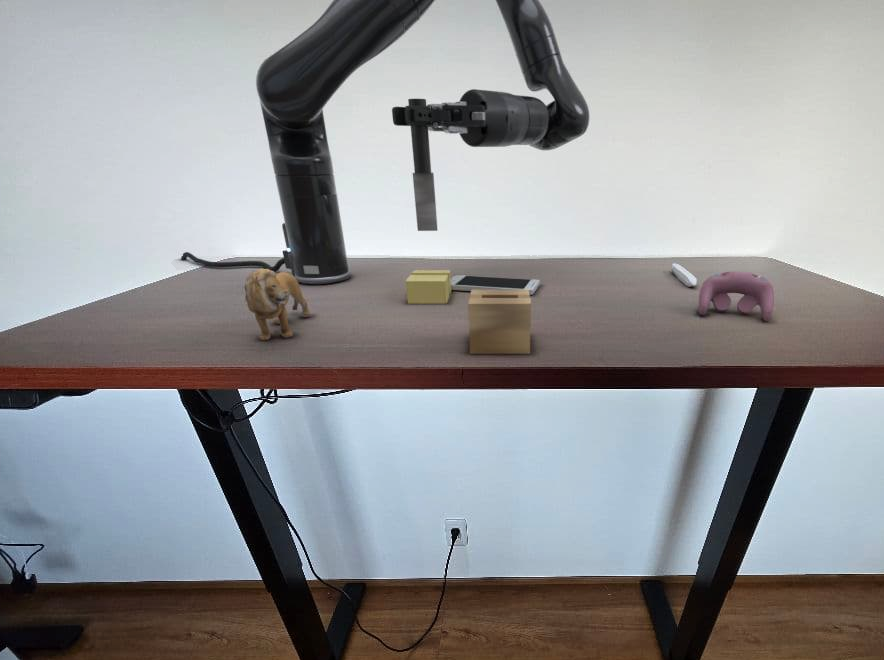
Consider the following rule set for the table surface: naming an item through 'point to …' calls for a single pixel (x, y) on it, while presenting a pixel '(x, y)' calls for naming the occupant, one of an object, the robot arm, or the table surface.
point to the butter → (428, 287)
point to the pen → (684, 275)
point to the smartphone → (493, 283)
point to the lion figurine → (273, 299)
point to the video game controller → (737, 282)
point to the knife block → (499, 321)
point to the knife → (423, 175)
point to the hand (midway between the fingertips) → (400, 115)
